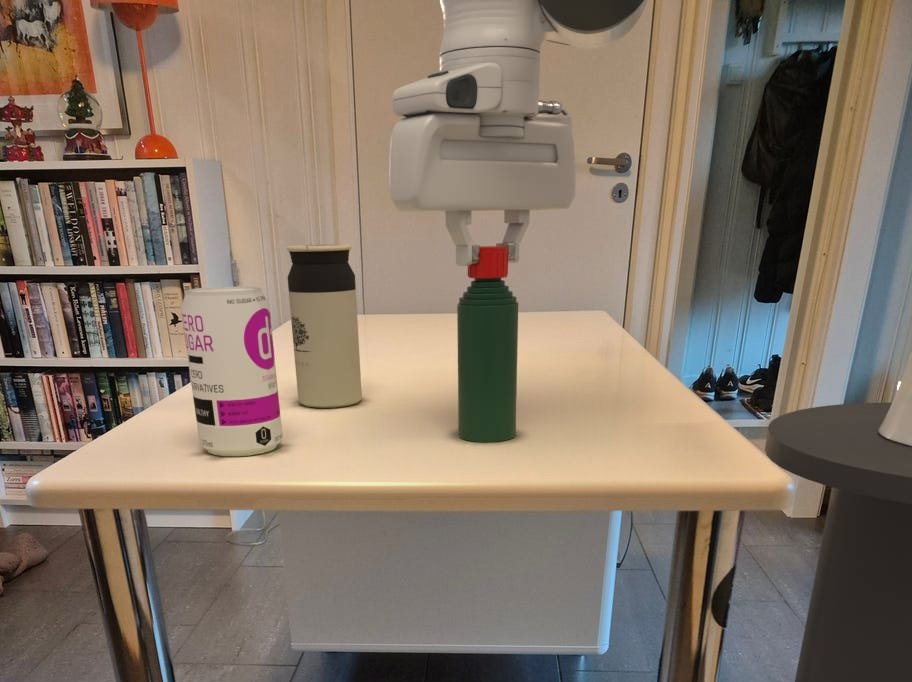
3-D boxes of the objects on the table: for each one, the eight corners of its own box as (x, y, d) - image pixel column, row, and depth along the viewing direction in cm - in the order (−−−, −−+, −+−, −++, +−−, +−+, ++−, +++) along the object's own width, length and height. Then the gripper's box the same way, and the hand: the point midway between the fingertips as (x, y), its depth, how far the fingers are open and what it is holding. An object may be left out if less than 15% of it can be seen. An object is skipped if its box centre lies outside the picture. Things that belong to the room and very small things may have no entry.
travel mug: (353, 394, 112) (344, 243, 104) (369, 405, 105) (360, 245, 97) (293, 399, 110) (279, 245, 102) (305, 411, 103) (291, 247, 95)
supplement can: (296, 440, 89) (282, 285, 82) (258, 460, 82) (239, 292, 75) (227, 436, 91) (208, 286, 85) (185, 455, 84) (160, 292, 78)
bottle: (518, 429, 92) (522, 251, 84) (512, 442, 86) (516, 253, 79) (463, 428, 93) (461, 252, 85) (454, 441, 87) (451, 254, 80)
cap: (459, 277, 83) (459, 247, 82) (489, 275, 85) (489, 245, 84) (485, 279, 80) (486, 247, 79) (515, 276, 82) (516, 246, 81)
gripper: (547, 105, 84) (542, 259, 90) (376, 92, 73) (383, 268, 79) (595, 98, 79) (586, 260, 86) (420, 82, 68) (424, 270, 74)
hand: (487, 264), depth 82 cm, fingers closed on cap, 4 cm apart
